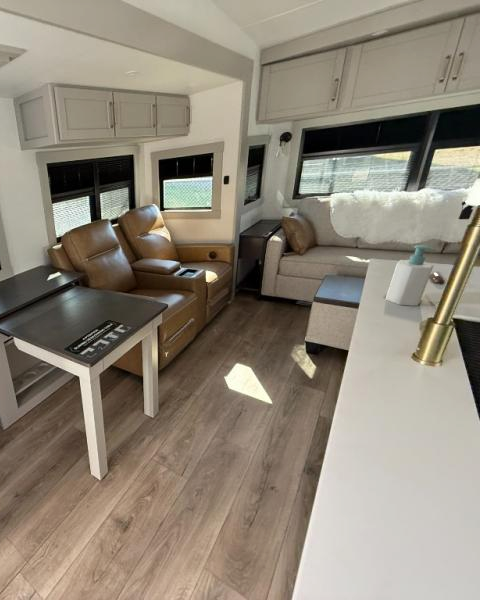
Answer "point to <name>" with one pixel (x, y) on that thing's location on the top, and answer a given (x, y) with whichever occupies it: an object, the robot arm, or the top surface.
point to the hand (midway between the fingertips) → (473, 221)
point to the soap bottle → (410, 279)
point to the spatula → (437, 278)
